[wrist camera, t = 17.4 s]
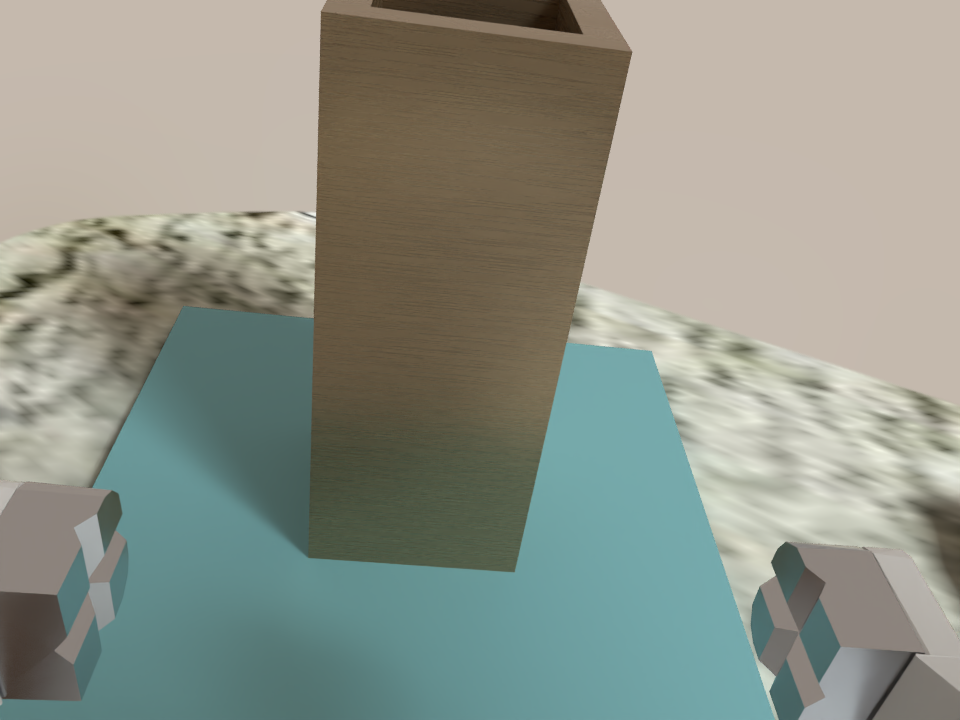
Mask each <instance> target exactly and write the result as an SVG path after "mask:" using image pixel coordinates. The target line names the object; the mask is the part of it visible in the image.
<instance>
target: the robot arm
mask: <svg viewBox="0 0 960 720" xmlns="http://www.w3.org/2000/svg"><path fill="white" fill-rule="evenodd" d="M122 514H123V513H122V508H121V503H120V498H119V493H117V492H115V491H113V490H105V489H95V488H85V487H75V486H66V485H56V484H46V483H36V482H17V481H8V480H0V705H2V699H20V700H55V701H82V699H83V696H84V694H85V691H86V689H87V686H88V684H89V681H90V679H91V677H92V674H93V672H94V669H95V667H96V664H97V662H98V660H99V657H100V655H101V652H102V648H101V642H100V637H99V630H100V629H102V628H103V627H104V626H106V625H107V624H108V623H110V622H111V621H112V620H114V619H115V617H116V615H117V612H118V610H119V607H120V604H121V602H122V599H123V595H124V591H125V586H126V581H127V576H128V561H129V554H128V546H127V540H126V539H125V538H124V537H123V536H121V535H120V534H119V533H118V532H117V531H116V528H117V526H118V523H119V521H120V519H121V516H122ZM771 563H772V566H773V569H774V571H775V574H776V576H775V577H773V578H772V579H770V580H769V581H767V582H766V583H764V584H763V585H761V586H760V587H759V590H758V592H757V595H756V597H755V599H754V602H753V604H752V616H751V630H752V638H753V643H754V646H755V650H756V653H757V656H758V659H759V661H760V662H761V663H763V664H764V665H765V666H766V667H767V668H768V669H769V670H770V671H771V672H772V673H773V674H774V675H775V676H776V678H775V680H774V682H773V684H772V687H771V689H770V691H769V692H770V695H771V698H772V700H773V703H774V706H775V709H776V712H777V715H778V718H779V720H960V640H959V638H958V636H957V634H956V633H955V631H954V629H953V628H952V626H951V624H950V622H949V621H948V619H947V617H946V615H945V614H944V612H943V610H942V609H941V607H940V605H939V603H938V602H937V600H936V598H935V597H934V595H933V593H932V591H931V590H930V588H929V586H928V585H927V583H926V581H925V579H924V578H923V576H922V574H921V572H920V571H919V569H918V567H917V566H916V564H915V562H914V560H913V559H912V557H911V556H910V555H908V554H907V553H906V552H905V551H903V550H902V549H888V548H873V547H862V548H860V547H857V546H843V545H828V544H813V543H798V542H785V543H784V544H783V545H782V546H780V547H779V548H778V549H777V551H776V553H775V555H774V557H773V560H772V562H771Z"/></svg>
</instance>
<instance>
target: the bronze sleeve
mask: <svg viewBox="0 0 960 720" xmlns="http://www.w3.org/2000/svg"><path fill="white" fill-rule="evenodd" d="M320 38H321V39H320V78H319V79H320V80H319V120H318V164H317V207H316V248H315V291H314V333H313V376H312V418H311V461H310V503H309V546H308V558H316V559H330V560H344V561H359V562H373V563H387V564H401V565H416V566H430V567H444V568H458V569H473V570H487V571H501V572H515V569H516V565H517V560H518V556H519V551H520V547H521V542H522V538H523V534H524V529H525V525H526V520H527V516H528V511H529V507H530V503H531V498H532V494H533V489H534V485H535V480H536V476H537V472H538V467H539V463H540V458H541V454H542V449H543V445H544V441H545V436H546V432H547V427H548V423H549V418H550V414H551V410H552V405H553V401H554V396H555V392H556V387H557V383H558V378H559V374H560V370H561V365H562V361H563V356H564V352H565V347H566V343H567V339H568V334H569V330H570V325H571V321H572V316H573V312H574V308H575V303H576V299H577V294H578V290H579V285H580V281H581V277H582V272H583V268H584V263H585V259H586V254H587V250H588V245H589V241H590V236H591V232H592V228H593V223H594V219H595V215H596V210H597V205H598V201H599V197H600V192H601V188H602V184H603V178H604V175H605V170H606V166H607V161H608V157H609V152H610V148H611V144H612V139H613V135H614V130H615V126H616V121H617V117H618V113H619V108H620V103H621V99H622V95H623V90H624V86H625V81H626V77H627V73H628V68H629V64H630V59H631V55H632V51H631V49H630V47H629V46H628V44H627V42H626V41H625V39H624V38H623V36H622V35H621V33H620V31H619V29H618V28H617V26H616V25H615V23H614V21H613V20H612V18H611V17H610V15H609V13H608V12H607V10H606V8H605V7H604V5H603V4H602V2H601V0H327V1H326V3H325V5H324V7H323V9H322V11H321V35H320Z"/></svg>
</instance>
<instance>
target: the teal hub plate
mask: <svg viewBox="0 0 960 720" xmlns="http://www.w3.org/2000/svg"><path fill="white" fill-rule="evenodd" d="M313 333H314V319H313V318H303V317H293V316H282V315H272V314H261V313H251V312H241V311H230V310H220V309H209V308H199V307H189V306H183V308H182V310H181V312H180V314H179V316H178V318H177V320H176V322H175V324H174V326H173V328H172V330H171V332H170V334H169V336H168V338H167V340H166V342H165V344H164V346H163V348H162V350H161V352H160V354H159V356H158V358H157V360H156V362H155V364H154V366H153V368H152V370H151V372H150V374H149V376H148V378H147V380H146V382H145V384H144V386H143V388H142V390H141V392H140V394H139V396H138V398H137V400H136V402H135V404H134V406H133V408H132V410H131V412H130V414H129V416H128V418H127V420H126V422H125V424H124V426H123V428H122V430H121V432H120V434H119V436H118V438H117V440H116V441H115V443H114V445H113V447H112V449H111V451H110V453H109V455H108V457H107V459H106V461H105V463H104V465H103V467H102V469H101V471H100V473H99V475H98V477H97V479H96V481H95V483H94V485H93V487H92V488H95V489H105V490H113V491H115V492H117V493H119V498H120V503H121V508H122V513H123V514H122V516H121V519H120V521H119V523H118V526H117V528H116V531H117V532H118V533H119V534H120V535H121V536H123V537H124V538H125V539H126V540H127V546H128V554H129V561H128V576H127V581H126V586H125V591H124V595H123V599H122V602H121V604H120V607H119V610H118V612H117V615H116V617H115V619H114V620H112V621H111V622H110V623H108V624H107V625H106V626H104V627H103V628H102V629H100V630H99V637H100V642H101V648H102V652H101V655H100V657H99V660H98V662H97V664H96V667H95V669H94V672H93V674H92V677H91V679H90V681H89V684H88V686H87V689H86V691H85V694H84V696H83V699H82V701H55V700H20V699H2V705H0V720H775V719H774V716H773V713H772V710H771V707H770V704H769V701H768V698H767V695H766V692H765V689H764V686H763V683H762V680H761V677H760V674H759V671H758V668H757V665H756V662H755V659H754V656H753V653H752V650H751V647H750V644H749V641H748V638H747V635H746V632H745V629H744V626H743V623H742V620H741V617H740V614H739V611H738V608H737V605H736V602H735V599H734V596H733V593H732V591H731V588H730V585H729V582H728V579H727V576H726V573H725V570H724V567H723V564H722V561H721V558H720V555H719V552H718V549H717V546H716V543H715V540H714V537H713V534H712V531H711V528H710V525H709V522H708V519H707V516H706V513H705V510H704V507H703V504H702V501H701V498H700V495H699V492H698V489H697V486H696V483H695V480H694V477H693V474H692V471H691V468H690V465H689V462H688V459H687V456H686V453H685V450H684V447H683V444H682V441H681V438H680V435H679V432H678V429H677V426H676V423H675V420H674V417H673V414H672V411H671V408H670V405H669V402H668V399H667V396H666V393H665V390H664V387H663V384H662V381H661V378H660V375H659V372H658V369H657V366H656V363H655V360H654V357H653V354H652V351H646V350H635V349H625V348H614V347H604V346H594V345H583V344H573V343H566V347H565V352H564V356H563V361H562V365H561V370H560V374H559V378H558V383H557V387H556V392H555V396H554V401H553V405H552V410H551V414H550V418H549V423H548V427H547V432H546V436H545V441H544V445H543V449H542V454H541V458H540V463H539V467H538V472H537V476H536V480H535V485H534V489H533V494H532V498H531V503H530V507H529V511H528V516H527V520H526V525H525V529H524V534H523V538H522V542H521V547H520V551H519V556H518V560H517V565H516V569H515V572H501V571H487V570H473V569H458V568H444V567H430V566H416V565H401V564H387V563H373V562H359V561H344V560H330V559H316V558H308V546H309V503H310V461H311V418H312V376H313Z"/></svg>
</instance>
